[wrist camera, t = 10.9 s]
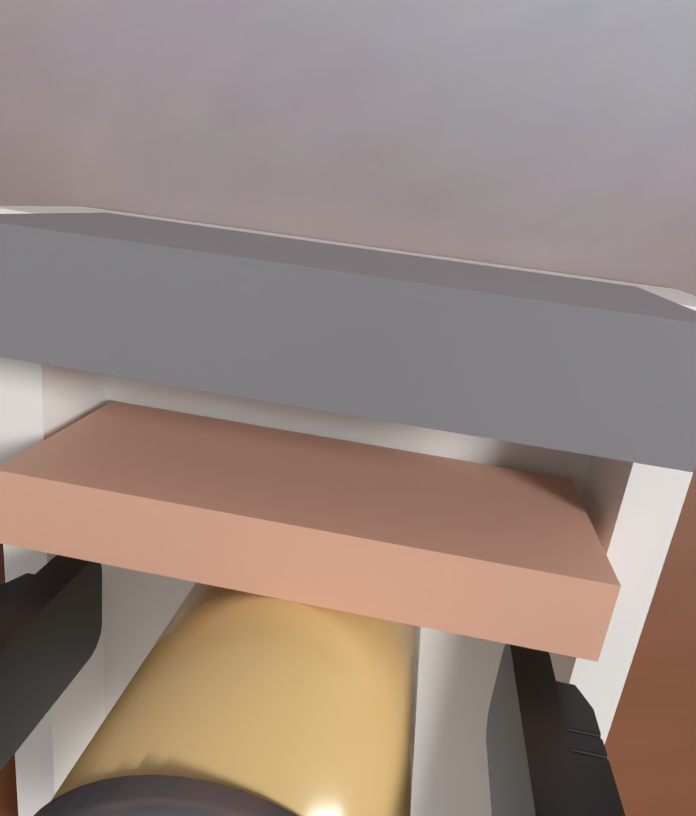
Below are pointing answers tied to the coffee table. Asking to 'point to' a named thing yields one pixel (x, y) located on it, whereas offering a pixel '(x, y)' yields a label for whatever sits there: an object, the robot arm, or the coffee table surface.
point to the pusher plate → (319, 524)
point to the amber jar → (257, 717)
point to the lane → (349, 419)
